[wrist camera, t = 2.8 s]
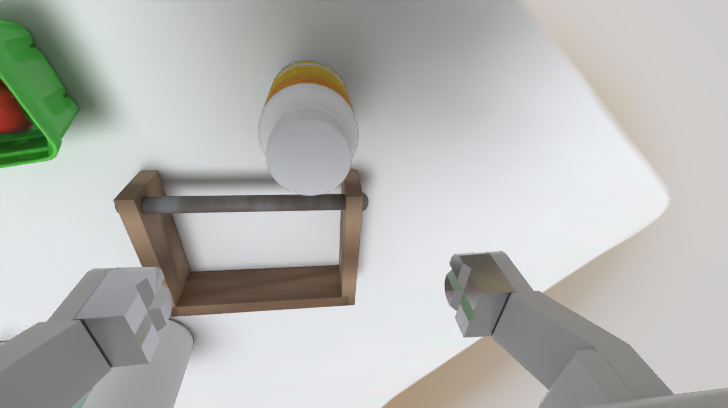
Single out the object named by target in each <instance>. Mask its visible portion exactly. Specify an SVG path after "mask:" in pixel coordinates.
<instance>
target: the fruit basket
mask: <svg viewBox="0 0 728 408" xmlns="http://www.w3.org/2000/svg"><path fill="white" fill-rule="evenodd" d="M77 112H78V106H77V105H76V103H75V102H74V101H73V100H72V99H71V98H70V97H69V96H67V95H66V91H65V88H64V85H63V84H62V82H61V81H60V79H59V78H58V76H57V74H56V73H55V71H54V70H53V68H52V67H51V65H50V64H49V62H48V61H47V59H46V58H45V56H44V55H43V53H42V52H40V51H39V50H38V48H37V47H35V46H33V41H32V38H31V35H30V33H29V31H28V30H27V29H26V27H25V26H23V25H21V24H17V23H13V22H9V21H4V20H0V168H3V167H10V166H17V165H22V164H28V163H36V162H43V161H48V160H52V159H53V158H55V157H56V156H57V153H58V151H59V149H60V146H61V143H62V141H61V139H62V137H63V136H64V134H65V132H66V131H67V129H68V127H69V126H70V124H71V122H72V120H73V119H74V117H75V115H76V114H77Z"/></svg>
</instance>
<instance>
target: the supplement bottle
mask: <svg viewBox="0 0 728 408" xmlns="http://www.w3.org/2000/svg"><path fill="white" fill-rule="evenodd" d="M258 137H259V142H260V146H261V149H262V151H263V153H264V155H265V157H266V162H267V166H268V169H269V172H270V173H271V175H272V177H273V178H274V179H275V181H276V182H277V183H278V184H280V185H281V186H282V187H283V188H285V189H287V190H289V191H291V192H293V193H296V194H300V195H307V196H314V195H320V194H324V193H327V192H329V191H331V190H333V189H335V188H336V187H337V186H339V185H340V184H341V183H342V182H343V181H344V179H345V178H346V176H347V174H348V172H349V170H350V167H351V161H352V158H353V156H354V154H355V152H356V149H357V145H358V125H357V121H356V117H355V114H354V111H353V108H352V105H351V102H350V99H349V96H348V92H347V90H346V87H345V85H344V83H343V81H342V79H341V78H340V76H339V75H338V74H337V73H336V72H335V71H334V70H333V69H332V68H330V67H329V66H327V65H325V64H323V63H321V62H318V61H312V60H302V61H297V62H294V63H291V64H289V65H288V66H286V67H285V68H284V69H282V70H281V71H280V72H279V74H278V75H277V76H276V78H275V80H274V82H273V84H272V86H271V89H270V92H269V95H268V97H267V100H266V103H265V106H264V108H263V111H262V114H261V117H260V120H259V126H258Z"/></svg>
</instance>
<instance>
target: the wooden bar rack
mask: <svg viewBox="0 0 728 408" xmlns="http://www.w3.org/2000/svg"><path fill="white" fill-rule="evenodd" d="M114 203H115V208H116V211H117V212H118V213H119V214H120V217H121V219H122V221H123V223H124V226H125V228H126V230H127V233H128V235H129V237H130V240H131V242H132V244H133V246H134V249H135V251H136V253H137V256H138V258H139V260H140V263H141V265H142V267H158V268H161V270H162V272H163V274H164V277H165V278H164V280H163V282H162V285H164V286H165V287H167V288H168V289H169V290H170V293H171V295H172V310H171V315H170V317H175V316H191V315H206V314H221V313H237V312H252V311H268V310H283V309H298V308H314V307H329V306H345V305H354V304H355V292H356V280H357V268H358V255H359V243H360V231H361V219H362V211H364V210H365V209H366V208H367V206H368V197H367V196H366V194H364V193H363V192H362V189H361V185H360V181H359V177H358V173H357V170H350V171H349V172H348V174H347V176H346V178H345V179H344V181H343V182H342V194H320V195H314V196H307V195H232V196H166V195H165V192H164V189H163V186H162V183H161V180H160V177H159V174H158V171H140V172H139V173H138V174H137V175H136V176H135V177H134V178H133V179H132V180H131V181H130V183H129V184H128V185H127V186H126V187H125V188H124V189H123V190H122V191H121V192H120V193H119V195H118V196H117V197H116V198H115V199H114ZM308 210H341V222H340V250H339V265H338V266H316V267H295V268H273V269H251V270H229V271H208V272H190V270H189V266H188V263H187V260H186V257H185V254H184V251H183V248H182V245H181V242H180V239H179V236H178V233H177V229H176V226H175V223H174V220H173V217H172V214H171V213H208V212H258V211H308Z"/></svg>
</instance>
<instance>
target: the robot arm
mask: <svg viewBox="0 0 728 408" xmlns="http://www.w3.org/2000/svg"><path fill="white" fill-rule="evenodd" d="M450 266H451V268H452V270H451V271H450V272H449V273H448V274H447V275H446V279H445V294H446V298H447V300H448V303H449V305H450V306H451V307H452V308H454V309H455V310H456V311H457V313H456V316H455V319H456V321H457V323H458V326H459V328H460V330H461V332H462V335H463V337H481V336H492V338H493V339H494V340H495V341H496V342H497V343H498V344H499V345H500V346H501V347H503V348H504V349H505V350H506V351H507V352H508V353H509V354H510V355H511V356H512V357H514V358H515V359H516V360H517V361H518V362H519V363H520V364H521V365H522V366H523V367H524V368H525V369H527V370H528V371H529V372H530V373H531V374H532V375H533V376H534V377H535V378H536V379H537V380H539V381H540V382H541V383H542V384H543V385H544V386H545V387H546V388H547V389H548V390H549V391H548V392H547V394H546V395H545V397H544V398H543V399H542V401H541V403H540V405H539V408H728V388H723V389H715V390H708V391H698V392H691V393H683V394H673V393H672V391H671V390H670V389H669V388H668V387H667V386H666V385H665V384H664V383H663V381H662V380H661V379H660V378H659V377H658V376H657V375H656V374H655V372H653V370H652V369H651V368H650V367H649V366H648V365H647V364H646V363H645V361H644V360H643V359H642V358H641V357H640V356H639V355H638V354H637V352H635V350H634V349H633V348H632V347H631V346H630V345H629V344H627V343H626V342H624V341H622V340H621V339H619V338H617V337H616V336H614V335H612V334H611V333H609V332H607V331H606V330H604V329H602V328H601V327H599V326H597V325H595V324H594V323H592V322H590V321H589V320H587V319H585V318H584V317H582V316H580V315H579V314H577V313H575V312H573V311H572V310H570V309H568V308H567V307H565V306H563V305H561V304H560V303H558V302H557V301H555V300H553V299H552V298H550V297H548V296H546V295H545V294H543V293H541V292H540V291H533V289H532V288H531V287H530V285H529V284H528V283H527V281H526V280H525V279H524V277H523V276H522V275H521V273H520V272H519V271H518V269H517V268H516V267H515V265H514V264H513V263H512V261H511V260H510V259H509V257H508V256H507V255H506V254H505V253H504V252H502V251H497V252H485V253H484V252H482V253H463V254H454V255H453V256H452V257H451V261H450ZM164 278H165V277H164V274H163V272H162V270H161V268H158V267H129V268H102V269H92V270H90V271H88V272H87V273H86V274H85V275H84V277H83V278H82V279H81V280H80V282H79V283H78V284H77V285H76V286H75V288H74V289H73V290H72V291H71V293H70V294H69V295H68V296H67V297H66V299H65V300H64V301H63V302H62V304H61V305H60V306H59V307H58V308H57V310H56V311H55V312H54V313H53V315H52V316H51V317H50V318H49V319H48V321H47V322H40V323H37V324H36V325H34V326H32V327H31V328H29V329H27V330H25V331H24V332H22V333H20V334H19V335H17V336H15V337H14V338H12V339H10V340H9V341H7V342H5V343H4V344H2V345H0V408H71V407H73V406H74V405H75V404H76V403H77V402H78V401H79V400H80V399H81V398H82V397H83V396H84V395H85V394H86V393H87V392H88V391H89V390H91V389H92V388H93V387H94V386H95V385H96V384H97V383H98V382H99V381H100V380H101V379H102V378H103V377H104V376H105V375H106V374H107V373H108V372H110V371H111V368H113V367H122V366H131V365H140V364H149V363H150V361H151V358H152V356H153V354H154V352H155V350H156V347H157V345H158V343H159V341H160V338H159V336H158V334H157V332H158V331H159V330H160V329H162V328H163V327H164V326H165V325H167V322H168V320H169V318H170V315H171V310H172V295H171V293H170V290H169V289H168V288H167V287H165V286H164V285H162V282H163V280H164Z"/></svg>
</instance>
